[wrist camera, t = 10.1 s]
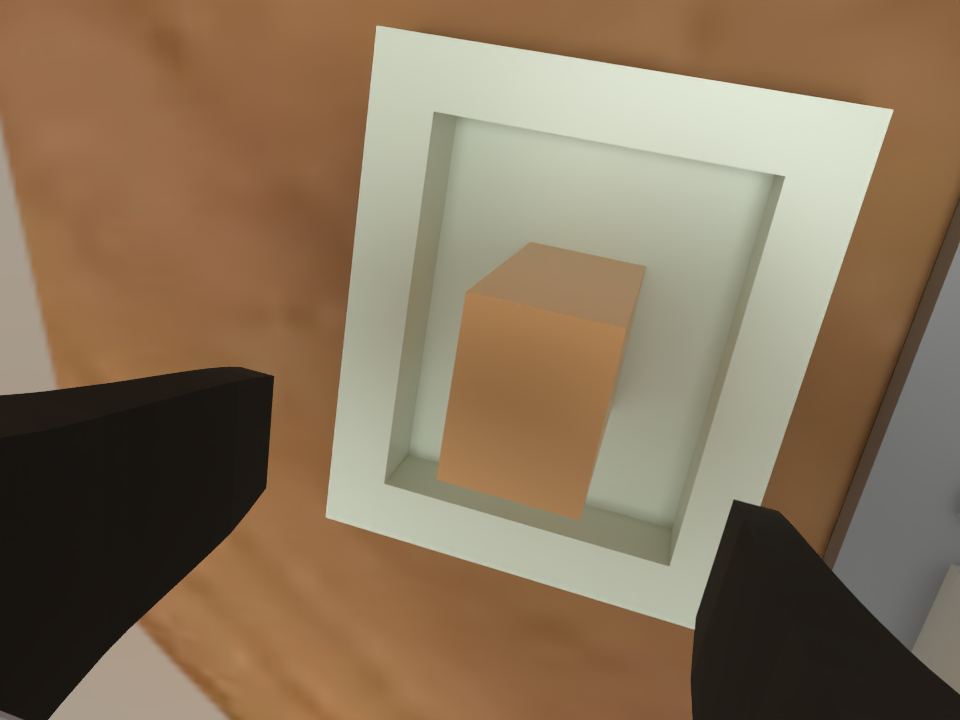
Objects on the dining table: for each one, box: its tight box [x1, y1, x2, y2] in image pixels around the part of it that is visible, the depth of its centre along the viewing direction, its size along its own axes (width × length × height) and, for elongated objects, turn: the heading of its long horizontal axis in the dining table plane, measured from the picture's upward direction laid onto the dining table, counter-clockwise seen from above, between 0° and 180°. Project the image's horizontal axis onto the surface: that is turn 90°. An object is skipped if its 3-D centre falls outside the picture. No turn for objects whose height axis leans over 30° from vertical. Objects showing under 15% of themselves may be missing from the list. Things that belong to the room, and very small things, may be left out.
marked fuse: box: [436, 242, 646, 520], centre depth 17 cm, size 4×3×6 cm
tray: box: [326, 26, 893, 630], centre depth 19 cm, size 13×11×2 cm
